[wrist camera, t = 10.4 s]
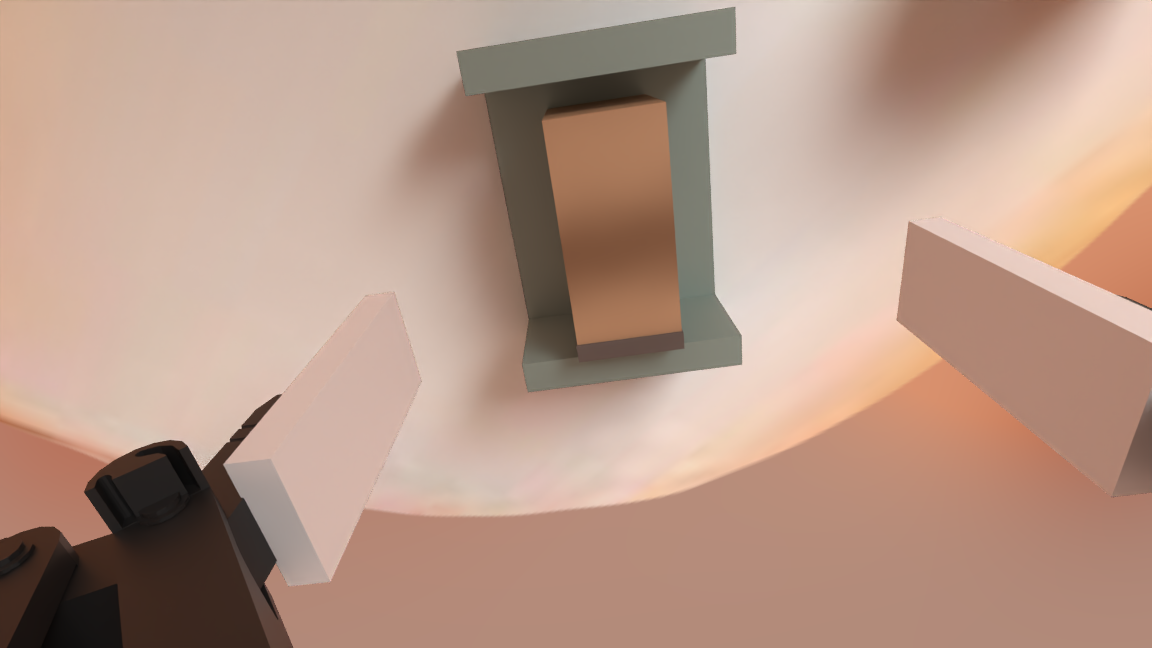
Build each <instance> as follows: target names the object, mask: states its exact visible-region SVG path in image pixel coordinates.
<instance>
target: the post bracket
mask: <svg viewBox="0 0 1152 648" xmlns="http://www.w3.org/2000/svg"><path fill="white" fill-rule="evenodd" d="M732 54H736V18H735V7H731V8H725V9H718V10H712V11H706V12H700V13H694V14H687V15H681V16H675V17H669V18H662V19H656V20H650V21H644V22H637V23H631V24H625V25H619V26H613V27H606V28H600V29H594V30H588V31H581V32H575V33H569V34H563V35H556V36H550V37H544V38H538V39H531V40H525V41H519V42H513V43H507V44H500V45H494V46H488V47H482V48H475V49H469V50H463V51H457V57H458V62H459V67H460V71H461V76H462V81H463V86H464V90H465V95H466V96H470V95H476V94H482V93H485V98H486V103H487V108H488V113H489V118H490V123H491V128H492V134H493V139H494V144H495V149H496V154H497V159H498V164H499V169H500V174H501V179H502V184H503V190H504V195H505V200H506V205H507V210H508V215H509V220H510V225H511V230H512V235H513V240H514V246H515V251H516V256H517V261H518V266H519V271H520V276H521V281H522V286H523V291H524V296H525V302H526V307H527V312H528V317H529V323H528V329H527V336H526V342H525V349H524V356H523V362H522V366H523V371H524V376H525V381H526V385H527V390H528V392H534V391H542V390H550V389H557V388H565V387H573V386H580V385H588V384H596V383H603V382H611V381H619V380H627V379H634V378H642V377H650V376H657V375H665V374H673V373H680V372H688V371H696V370H703V369H711V368H719V367H727V366H734V365H742V336H741V334H740V332H739V331H738V329H737V328H736V326H735V325H734V323H733V322H732V320H731V318H730V317H729V315H728V314H727V312H726V311H725V309H724V308H723V306H722V304H721V303H720V301H719V300H718V298H717V297H716V295H715V286H714V261H713V236H712V211H711V186H710V162H709V137H708V112H707V87H706V62H705V59H706V58H712V57H719V56H725V55H732ZM642 94H646V95H649V96H652V97H654V98H657V99H660V100H662V101H665V102H666V109H667V123H668V138H669V152H670V167H671V181H672V196H673V210H674V225H675V240H676V254H677V269H678V283H679V298H680V312H681V327H682V330H683V333H684V348H685V349H678V350H671V351H663V352H656V353H648V354H640V355H633V356H625V357H618V358H610V359H602V360H595V361H587V362H580V363H579V360H578V354H577V348H576V333H575V327H574V321H573V314H572V308H571V302H570V295H569V289H568V283H567V276H566V270H565V264H564V258H563V251H562V245H561V239H560V232H559V226H558V220H557V214H556V207H555V201H554V195H553V188H552V182H551V176H550V169H549V163H548V157H547V151H546V144H545V138H544V132H543V125H542V119H543V117H544V115H545V113H546V111H547V109H551V108H557V107H564V106H570V105H577V104H583V103H590V102H596V101H603V100H609V99H616V98H622V97H629V96H635V95H642Z"/></svg>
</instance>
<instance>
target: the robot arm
mask: <svg viewBox="0 0 1152 648" xmlns="http://www.w3.org/2000/svg"><path fill="white" fill-rule="evenodd" d="M897 321H898V322H899V323H901V324H902V325H903V326H904V327H905V328H907V329H908V330H909V331H910V332H911V333H913V334H914V335H915V336H916V337H918V338H919V339H920V340H921V341H922V342H924V343H925V344H926V345H927V346H928V347H930V348H931V349H932V350H933V351H935V352H936V353H937V354H938V355H939V356H941V357H942V358H943V359H944V360H945V361H947V362H948V363H949V364H950V365H952V366H953V367H954V368H955V369H956V370H958V371H959V372H960V373H961V374H962V375H964V376H965V377H966V378H967V379H969V380H970V381H971V382H972V383H973V384H975V385H976V386H977V387H978V388H979V389H981V390H982V391H983V392H984V393H986V394H987V395H988V396H989V397H990V398H992V399H993V400H994V401H995V402H997V403H998V404H999V405H1000V406H1001V407H1002V408H1004V409H1005V410H1006V411H1007V412H1009V413H1010V414H1011V415H1012V416H1013V417H1015V418H1016V419H1017V420H1019V421H1020V422H1021V423H1022V424H1023V425H1025V426H1026V427H1027V428H1028V429H1029V430H1030V431H1032V432H1033V433H1034V434H1035V435H1036V436H1038V437H1039V438H1040V439H1041V440H1043V441H1044V442H1045V443H1046V444H1047V445H1049V446H1050V447H1051V448H1052V449H1054V450H1055V451H1056V452H1057V453H1058V454H1060V455H1061V456H1062V457H1063V458H1064V459H1066V460H1067V461H1068V462H1069V463H1071V464H1072V465H1073V466H1074V467H1075V468H1077V469H1078V470H1079V471H1080V472H1082V473H1083V474H1084V475H1085V476H1086V477H1088V478H1089V479H1090V480H1091V481H1092V482H1094V483H1095V484H1096V485H1097V486H1098V487H1100V488H1101V489H1102V490H1103V491H1104V492H1106V493H1107V494H1108V495H1109V496H1111V497H1118V496H1128V495H1136V494H1146V493H1152V308H1149V307H1147V306H1145V305H1142V304H1140V303H1138V302H1136V301H1133V300H1131V299H1129V298H1127V297H1123V296H1119V295H1115V294H1113V293H1111V292H1108V291H1106V290H1104V289H1102V288H1099V287H1097V286H1095V285H1093V284H1090V283H1088V282H1086V281H1084V280H1081V279H1079V278H1077V277H1075V276H1073V275H1070V274H1068V273H1066V272H1064V271H1061V270H1059V269H1057V268H1055V267H1052V266H1050V265H1048V264H1046V263H1043V262H1041V261H1039V260H1037V259H1034V258H1032V257H1030V256H1028V255H1025V254H1023V253H1021V252H1019V251H1016V250H1014V249H1012V248H1010V247H1007V246H1005V245H1003V244H1001V243H998V242H996V241H994V240H992V239H989V238H987V237H985V236H983V235H980V234H978V233H976V232H974V231H971V230H969V229H967V228H965V227H962V226H960V225H958V224H956V223H953V222H951V221H949V220H947V219H944V218H942V217H935V218H928V219H920V220H913V221H909V224H908V232H907V240H906V248H905V256H904V264H903V272H902V281H901V289H900V297H899V305H898V313H897ZM421 382H422V380H421V377H420V374H419V370H418V367H417V364H416V361H415V357H414V354H413V351H412V348H411V345H410V341H409V338H408V335H407V332H406V328H405V325H404V322H403V319H402V315H401V312H400V309H399V306H398V303H397V299H396V296H395V293H394V292H389V293H382V294H374V295H367V296H365V297H364V298H363V299H362V301H361V302H360V303H359V304H358V305H357V307H356V308H355V309H354V310H353V311H352V312H351V314H350V315H349V316H348V317H347V318H346V320H345V321H344V322H343V323H342V324H341V326H340V327H339V328H338V329H337V330H336V331H335V333H334V334H333V335H332V336H331V337H330V339H329V340H328V341H327V342H326V343H325V344H324V346H323V347H322V348H321V349H320V350H319V352H318V353H317V354H316V355H315V356H314V357H313V359H312V360H311V361H310V362H309V363H308V365H307V366H306V367H305V368H304V369H303V371H302V372H301V373H300V374H299V375H298V376H297V378H296V379H295V380H294V381H293V382H292V384H291V385H290V386H289V387H288V388H287V389H286V391H285V392H284V393H283V394H280V395H276V396H275V397H273V398H272V399H271V400H269V401H268V402H266V403H265V404H263V405H262V406H261V407H259V408H258V409H256V410H255V411H254V412H253V414H252V415H251V416H250V417H249V418H248V419H247V420H246V421H245V423H244V424H243V425H242V429H238V431H237V432H236V433H235V434H234V435H233V436H232V437H231V438H230V442H228V443H226V444H225V445H224V446H223V448H222V449H221V450H220V451H219V452H218V453H217V454H216V455H215V457H214V458H213V459H212V460H211V461H210V462H209V463H208V465H207V466H206V467H205V468H204V469H203V470H202V471H201V469H200V467H199V465H198V464H197V462H196V460H195V458H194V456H193V455H192V453H191V451H190V449H189V448H188V446H187V445H186V444H185V443H183V442H182V441H174V440H168V441H163V442H158V443H153V444H150V445H147V446H144V447H142V448H139V449H136V450H134V451H132V452H130V453H128V454H126V455H124V456H122V457H120V458H118V459H116V460H114V461H113V462H111V463H110V464H109V465H107V466H106V467H104V468H103V469H101V470H100V471H99V472H98V473H97V474H96V475H95V476H94V477H93V478H92V479H91V480H90V481H89V482H88V484H87V486H86V489H85V491H84V493H85V494H86V496H87V497H88V498H89V500H90V501H91V503H92V504H93V506H94V507H95V509H96V510H97V511H98V513H99V514H100V516H101V517H102V519H103V520H104V522H105V523H106V524H107V526H108V527H109V529H110V530H111V531H112V533H113V534H110V535H107V536H104V537H101V538H97V539H94V540H91V541H88V542H85V543H82V544H79V545H76V546H73V547H72V546H71V545H70V544H69V542H68V541H67V540H66V538H65V537H64V536H63V534H62V533H61V532H60V531H59V530H58V529H56V528H55V527H38V528H34V529H31V530H27V531H23V532H21V533H18V534H16V535H14V536H12V537H9V538H4V539H2V540H0V648H293V646H292V644H291V641H290V639H289V636H288V634H287V632H286V629H285V627H284V624H283V622H282V619H281V617H280V615H279V612H278V610H277V608H276V605H275V603H274V600H273V598H272V596H271V594H270V592H269V590H268V589H267V587H266V585H265V583H264V582H265V581H266V579H267V577H268V575H269V574H270V572H271V570H272V568H273V567H274V565H275V563H276V564H277V566H278V568H279V570H280V572H281V573H282V575H283V577H284V579H285V581H286V583H287V585H288V586H298V585H307V584H316V583H326V582H331V580H332V577H333V575H334V573H335V571H336V568H337V566H338V564H339V562H340V560H341V558H342V555H343V553H344V551H345V549H346V547H347V544H348V542H349V540H350V538H351V536H352V534H353V531H354V529H355V527H356V525H357V523H358V520H359V518H360V516H361V514H362V512H363V509H364V507H365V505H366V503H367V501H368V498H369V496H370V494H371V492H372V490H373V487H374V485H375V483H376V481H377V479H378V476H379V474H380V472H381V470H382V468H383V465H384V463H385V461H386V459H387V457H388V454H389V452H390V450H391V448H392V446H393V443H394V441H395V439H396V437H397V435H398V432H399V430H400V428H401V426H402V424H403V421H404V419H405V417H406V415H407V413H408V410H409V408H410V406H411V404H412V402H413V399H414V397H415V395H416V393H417V391H418V388H419V386H420V384H421Z"/></svg>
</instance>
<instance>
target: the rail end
mask: <svg viewBox="0 0 1152 648" xmlns="http://www.w3.org/2000/svg"><path fill="white" fill-rule="evenodd" d="M542 125H543V132H544V138H545V144H546V151H547V157H548V163H549V169H550V176H551V182H552V188H553V195H554V201H555V207H556V214H557V220H558V226H559V232H560V239H561V245H562V251H563V258H564V264H565V270H566V276H567V283H568V289H569V295H570V302H571V308H572V314H573V321H574V327H575V333H576V348H577V354H578V360H579V363H580V362H587V361H595V360H602V359H610V358H618V357H625V356H633V355H640V354H648V353H656V352H663V351H671V350H678V349H685V348H684V333H683V330H682V327H681V312H680V298H679V283H678V269H677V254H676V240H675V225H674V210H673V196H672V181H671V167H670V152H669V138H668V123H667V109H666V102H665V101H662V100H660V99H657V98H654V97H652V96H649V95H646V94H642V95H635V96H629V97H622V98H616V99H609V100H603V101H596V102H590V103H583V104H577V105H570V106H564V107H557V108H551V109H547V111H546V113H545V115H544V117H543V119H542Z"/></svg>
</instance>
